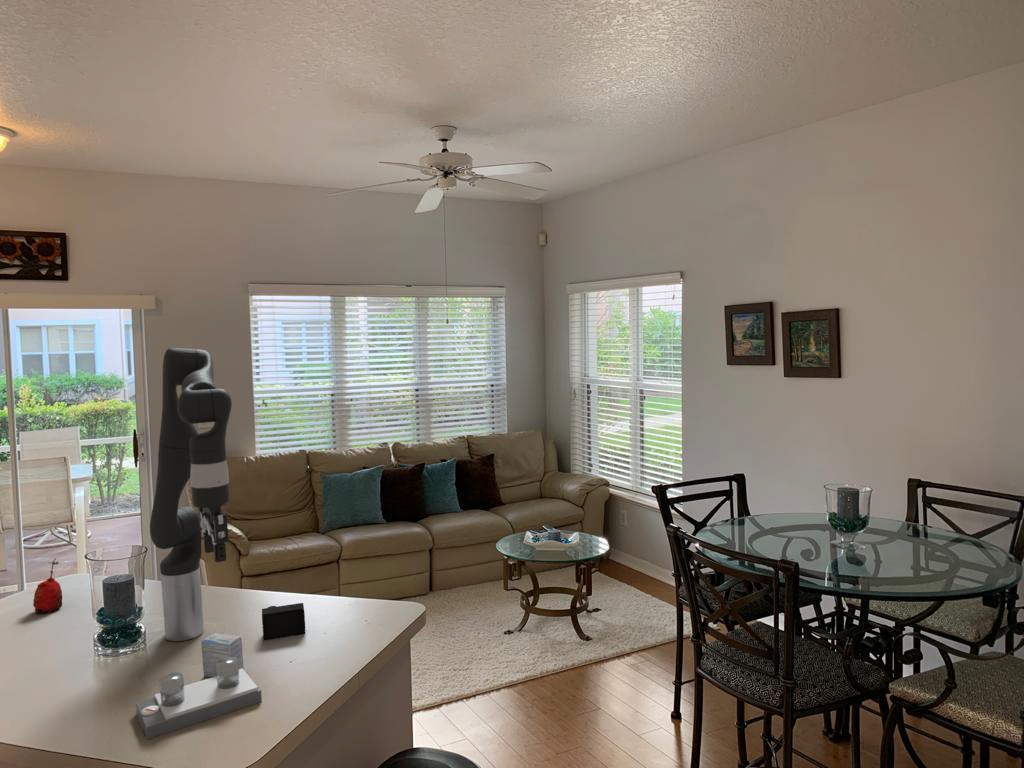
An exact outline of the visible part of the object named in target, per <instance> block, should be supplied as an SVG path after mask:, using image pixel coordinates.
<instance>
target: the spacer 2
mask: <svg viewBox="0 0 1024 768" xmlns="http://www.w3.org/2000/svg"><path fill="white" fill-rule="evenodd" d="M216 671H217V686H218V688H220V689H229V688H233V687H235V686H237V685H238V684H239V682H240V681H239V666H238V658H236V657H226V658H222V659H220V660H218V661H217V662H216Z"/></svg>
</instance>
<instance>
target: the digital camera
mask: <svg viewBox="0 0 1024 768" xmlns="http://www.w3.org/2000/svg"><path fill="white" fill-rule="evenodd" d="M261 622H262V637H263V642H265V641H270V640H271V641H272V640H276V639H277V640H279V639H282V638H283V639H284V638H291V637H297V636H301V635H306V617H305V606H304V603H303V602H300V603H293V604H292V603H291V604H286V605H279V606H277V605H270V606H268V607H264V608H262V609H261Z"/></svg>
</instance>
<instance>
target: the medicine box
mask: <svg viewBox="0 0 1024 768" xmlns="http://www.w3.org/2000/svg"><path fill="white" fill-rule="evenodd" d="M242 642H243V641H242V636H240V635H233V634H225V633H216V632H215V633H212V634H210V635H208V636H207V637H205V638H204V639H202V640H201V644H200V645H201V655H202V669H203V670H202V671H203V676H204V677H209V678H212V677H215V676H217V671H216V662H217V661H218V660H220V659H222V658H226V657H236V658H238V666H239V669H242V668H243V669H244V670H245V666H244V655H243V643H242Z"/></svg>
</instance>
